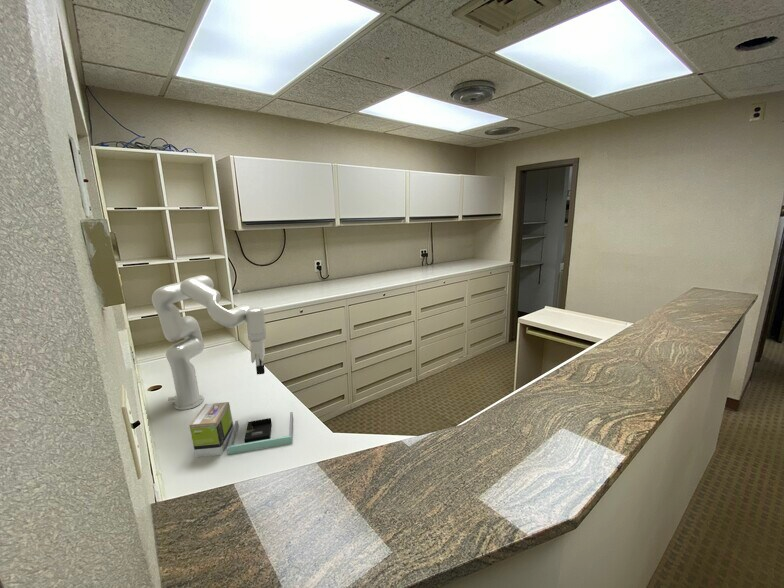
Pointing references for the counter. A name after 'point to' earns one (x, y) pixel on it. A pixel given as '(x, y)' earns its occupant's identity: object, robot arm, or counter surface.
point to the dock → (258, 444)
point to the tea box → (212, 429)
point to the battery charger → (258, 430)
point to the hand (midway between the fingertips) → (260, 373)
